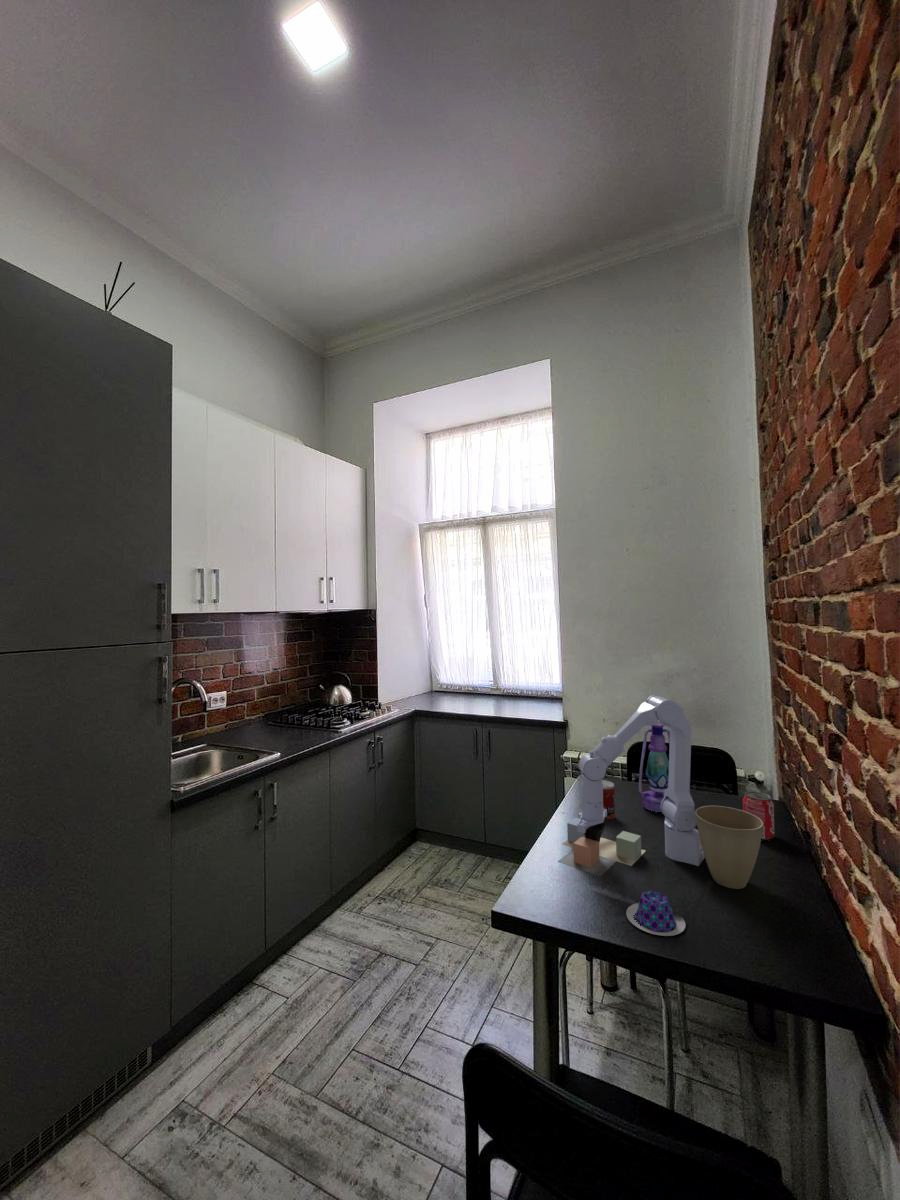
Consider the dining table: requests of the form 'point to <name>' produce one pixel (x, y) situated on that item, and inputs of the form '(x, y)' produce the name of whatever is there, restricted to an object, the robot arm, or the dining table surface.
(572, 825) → the blue block
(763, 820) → the beverage can
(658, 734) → the lantern
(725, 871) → the plant pot
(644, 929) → the patterned fedora hat
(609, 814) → the canned food
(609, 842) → the board
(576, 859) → the terracotta block
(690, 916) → the dining table surface
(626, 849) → the sage block
